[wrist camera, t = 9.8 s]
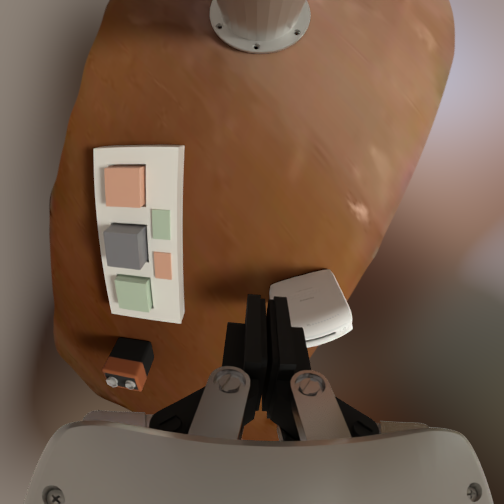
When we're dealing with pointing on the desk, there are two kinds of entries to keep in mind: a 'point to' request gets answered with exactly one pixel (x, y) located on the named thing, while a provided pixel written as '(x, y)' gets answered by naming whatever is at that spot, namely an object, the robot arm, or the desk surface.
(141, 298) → the sage key
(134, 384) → the battery
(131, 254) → the charcoal key
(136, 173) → the terracotta key
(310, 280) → the photo printer
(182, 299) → the white flat slab
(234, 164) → the desk surface
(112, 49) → the desk surface
